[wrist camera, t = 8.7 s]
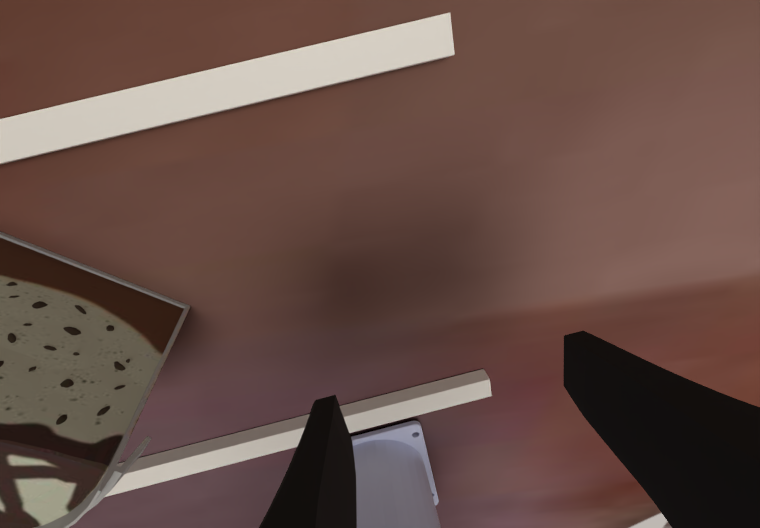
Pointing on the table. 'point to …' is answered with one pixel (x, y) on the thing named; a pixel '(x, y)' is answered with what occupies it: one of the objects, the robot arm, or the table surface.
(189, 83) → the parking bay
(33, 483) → the food container
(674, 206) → the table surface
